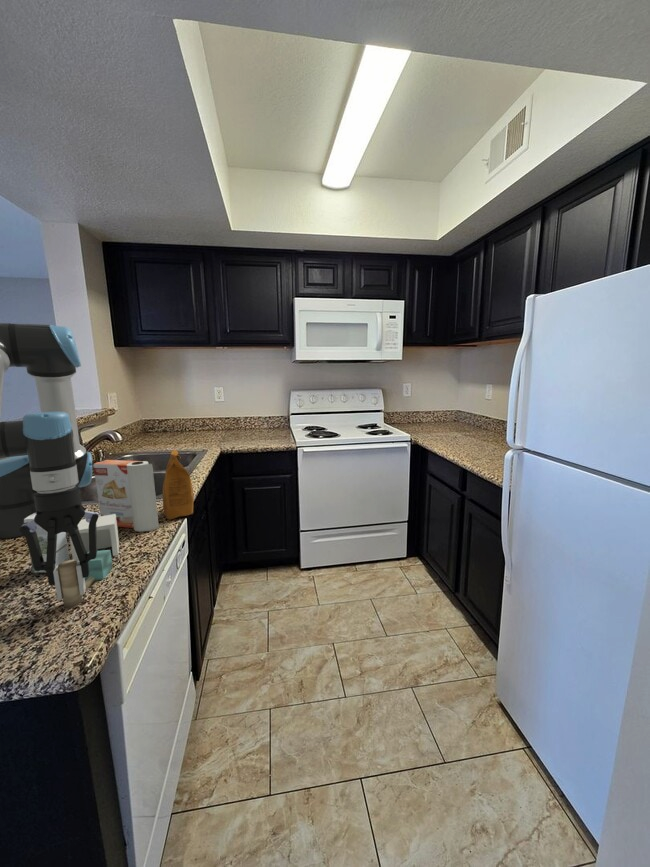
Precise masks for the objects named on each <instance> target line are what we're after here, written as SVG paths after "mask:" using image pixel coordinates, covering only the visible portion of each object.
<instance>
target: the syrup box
mask: <svg viewBox="0 0 650 867" xmlns="http://www.w3.org/2000/svg"><path fill="white" fill-rule="evenodd" d="M35 516H36V513H34V514H32V515H30V516H28V517H27V518H25V519H24V523H26V522H30V521H32V520H34V518H35ZM36 526H37V529H36V533H37V537H38V541H39V544H40V548H41V552H42V556H43V559H44V562H46V558H47V541H48V540H47V533H48V532H47V531H45V530H44V529H43V528H41V527H40V526H39V525H36ZM68 547H69V545H68V540H67V532H61V533H58V534H57V545H56V561H55V562H56V564H55V566H57V565H59V564H60V563H62V562H65V561H68V560H71V557H70V552H69V548H68ZM28 554H30V552H29V553H28ZM29 558H30V563H31V570H32V573H33V574H47V572H46V571H44V570H40V571H35V570H34V567H33V563H32V559H31V556H30V555H29Z"/></svg>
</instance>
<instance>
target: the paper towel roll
mask: <svg viewBox="0 0 650 867" xmlns="http://www.w3.org/2000/svg"><path fill="white" fill-rule="evenodd" d="M137 461H138V462H132V463H128V464H127V472H128V481H129V490H130V498H131V507H132V516H133V524H134V528H133V530H134V531H135V532H138V533H139V532H141V533H142V532H148V531H149V532H150V531H153V530H159V529H160V526H159V525H160V524H159V516H158V509H157V507H158V506H157V499H156V498H157V497H156V490H155V489H156V488H155V478H154V470H153V468H154V467H153V464H152V463H149V461H147V460H143V461H141V460H137Z"/></svg>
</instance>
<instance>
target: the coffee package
mask: <svg viewBox="0 0 650 867" xmlns="http://www.w3.org/2000/svg"><path fill="white" fill-rule="evenodd" d="M168 459H169V460H168V463H167V465H166V469H165V476H164V480H163V484H162V506H163V508H162V509H163V514H164V516H165V517H166V519H167V520H173V519H176V518H180V517H187V516H189V515H193V514H194V500H195V499H194V496H195V495H194V488H193V484H192V479H191V475H190V473H189V472H188V471H187V469H186V468H185V467H184V466H183V465H182V463H180V461H179V460H181V456H180V455H179V452H178V451H177V450H176V449H172V451H171V453H170V458H168Z"/></svg>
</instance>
